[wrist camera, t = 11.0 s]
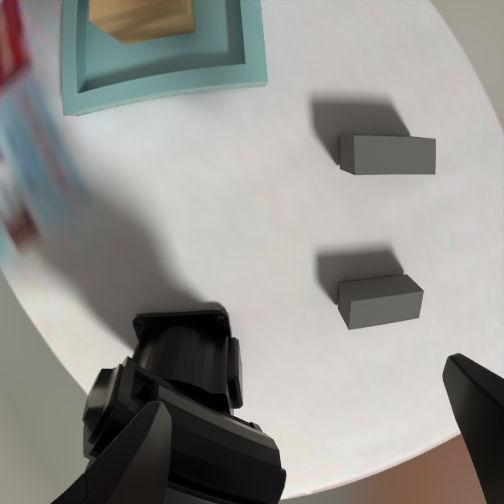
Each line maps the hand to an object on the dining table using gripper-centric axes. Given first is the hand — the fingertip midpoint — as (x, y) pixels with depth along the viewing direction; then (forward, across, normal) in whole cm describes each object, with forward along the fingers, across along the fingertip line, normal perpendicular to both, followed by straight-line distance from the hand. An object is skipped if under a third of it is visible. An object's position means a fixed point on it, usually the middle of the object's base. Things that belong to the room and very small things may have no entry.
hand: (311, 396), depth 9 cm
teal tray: (+12, +4, -16) cm, 21 cm away
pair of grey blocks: (+12, -6, 0) cm, 13 cm away
